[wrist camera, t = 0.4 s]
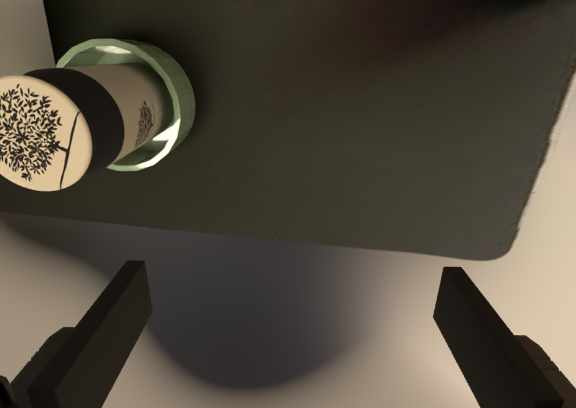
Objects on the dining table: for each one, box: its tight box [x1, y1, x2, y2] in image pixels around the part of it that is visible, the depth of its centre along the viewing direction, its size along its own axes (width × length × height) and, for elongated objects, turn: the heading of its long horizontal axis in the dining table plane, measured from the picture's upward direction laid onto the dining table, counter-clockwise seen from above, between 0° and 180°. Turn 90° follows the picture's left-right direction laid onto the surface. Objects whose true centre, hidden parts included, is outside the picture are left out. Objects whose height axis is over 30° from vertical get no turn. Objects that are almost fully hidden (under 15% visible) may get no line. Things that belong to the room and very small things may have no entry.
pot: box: [56, 39, 195, 171], centre depth 38 cm, size 12×12×6 cm
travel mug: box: [0, 63, 174, 191], centre depth 32 cm, size 8×8×18 cm
